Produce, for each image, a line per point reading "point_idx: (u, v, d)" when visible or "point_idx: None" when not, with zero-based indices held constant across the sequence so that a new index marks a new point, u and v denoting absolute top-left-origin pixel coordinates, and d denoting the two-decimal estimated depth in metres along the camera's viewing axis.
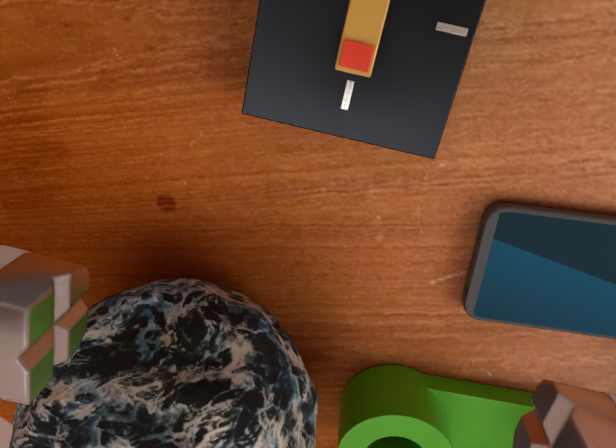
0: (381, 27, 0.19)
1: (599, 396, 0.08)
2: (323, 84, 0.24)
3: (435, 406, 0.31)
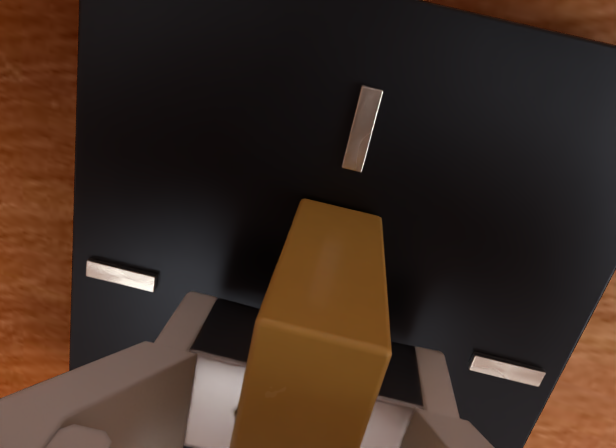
0: None
1: (402, 348, 0.08)
2: None
3: None
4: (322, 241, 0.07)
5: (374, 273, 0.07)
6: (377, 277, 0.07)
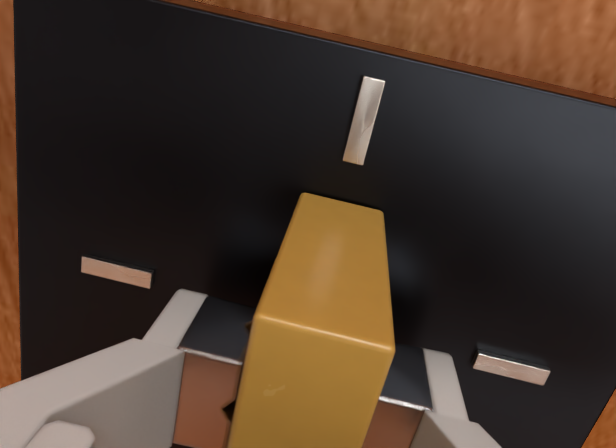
0: None
1: (411, 349, 0.08)
2: (476, 411, 0.10)
3: None
4: (323, 235, 0.07)
5: (376, 268, 0.07)
6: (379, 272, 0.06)
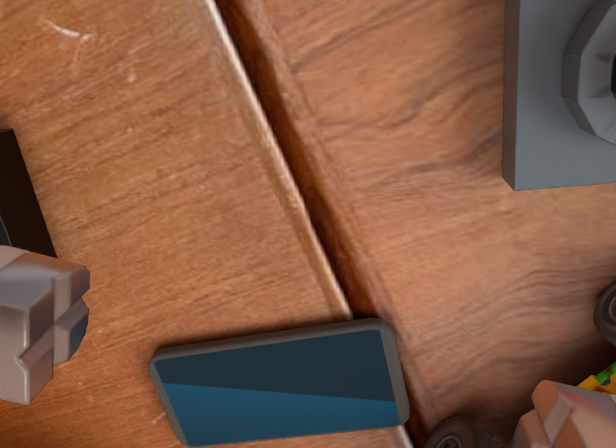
0: None
1: (599, 396, 0.08)
2: None
3: None
4: None
5: None
6: None
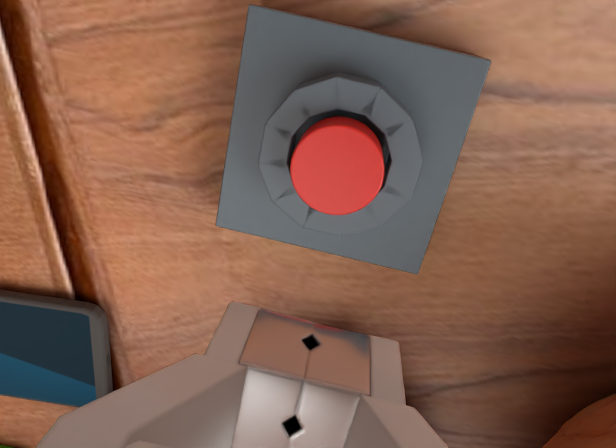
0: None
1: (357, 336, 0.08)
2: None
3: None
4: None
5: None
6: None
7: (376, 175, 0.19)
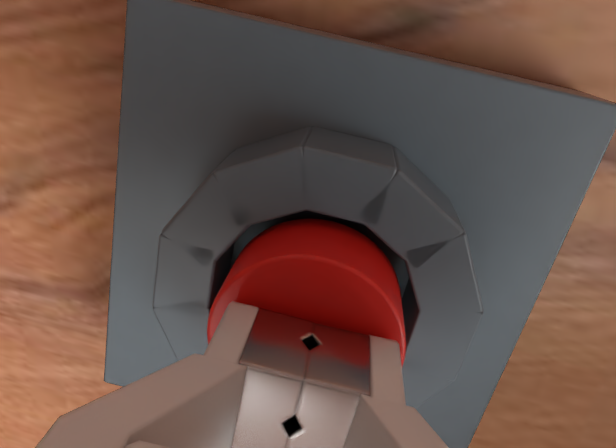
0: None
1: (357, 336, 0.08)
2: None
3: None
4: None
5: None
6: None
7: None
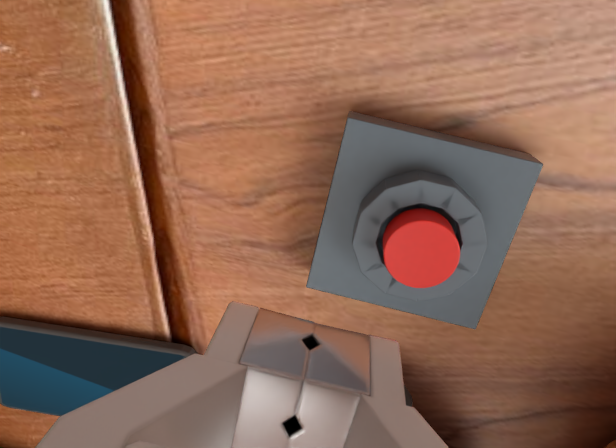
0: None
1: (357, 337, 0.08)
2: None
3: None
4: None
5: None
6: None
7: (453, 258, 0.24)
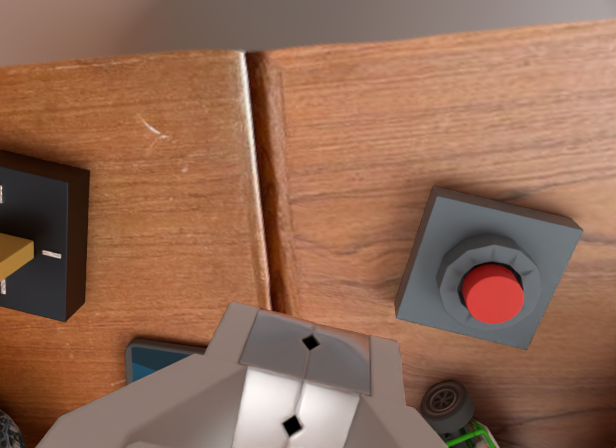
0: None
1: (357, 337, 0.08)
2: None
3: None
4: (19, 256, 0.36)
5: (14, 270, 0.35)
6: (13, 271, 0.35)
7: (519, 303, 0.32)
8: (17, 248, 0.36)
